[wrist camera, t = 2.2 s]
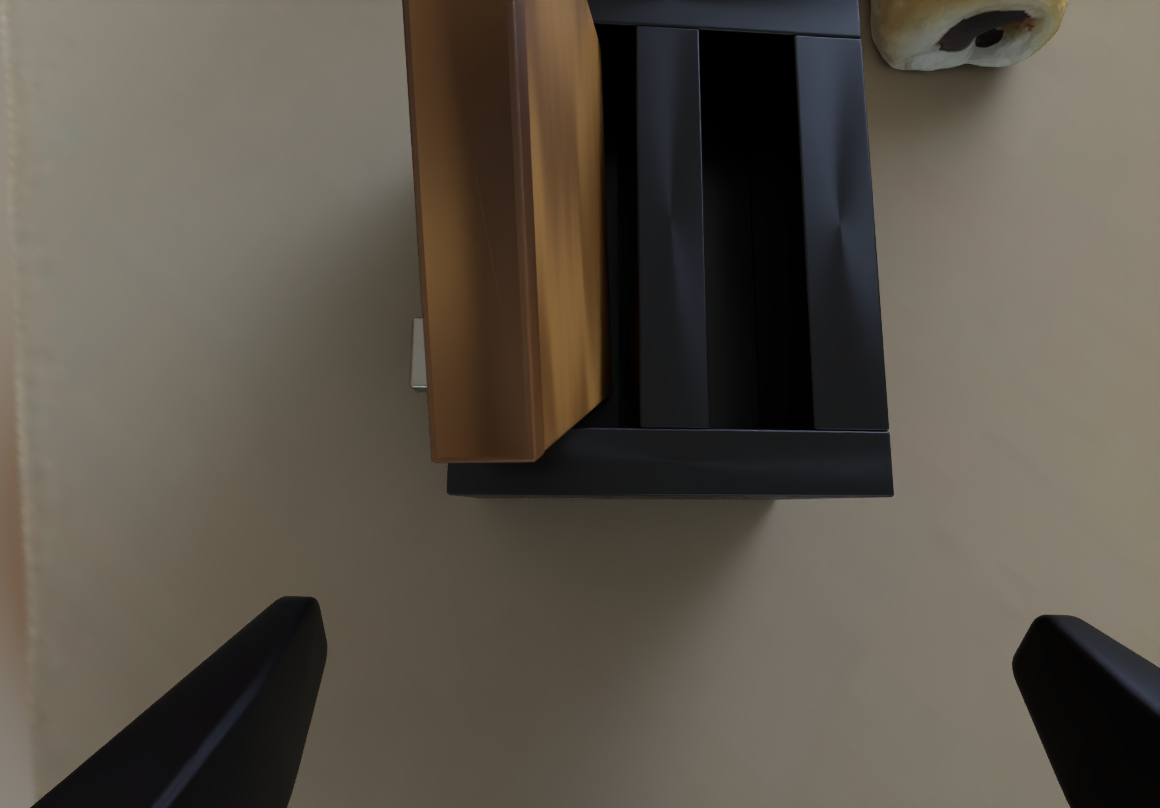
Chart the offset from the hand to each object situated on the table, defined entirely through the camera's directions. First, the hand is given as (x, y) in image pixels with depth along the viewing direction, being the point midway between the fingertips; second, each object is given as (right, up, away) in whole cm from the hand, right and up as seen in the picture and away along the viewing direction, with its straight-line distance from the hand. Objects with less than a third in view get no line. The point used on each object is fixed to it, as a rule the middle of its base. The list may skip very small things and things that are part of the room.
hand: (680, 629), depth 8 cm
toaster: (0, +6, +14) cm, 15 cm away
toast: (-1, +8, +9) cm, 12 cm away
